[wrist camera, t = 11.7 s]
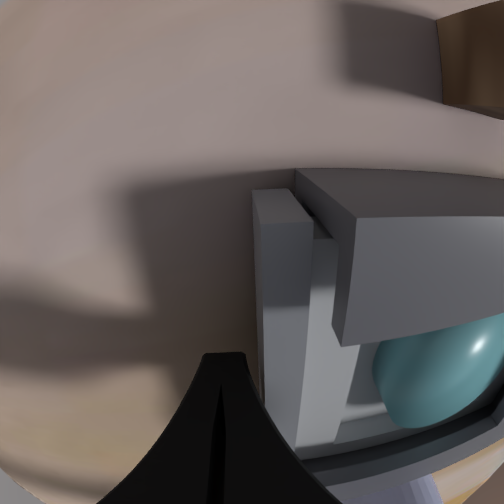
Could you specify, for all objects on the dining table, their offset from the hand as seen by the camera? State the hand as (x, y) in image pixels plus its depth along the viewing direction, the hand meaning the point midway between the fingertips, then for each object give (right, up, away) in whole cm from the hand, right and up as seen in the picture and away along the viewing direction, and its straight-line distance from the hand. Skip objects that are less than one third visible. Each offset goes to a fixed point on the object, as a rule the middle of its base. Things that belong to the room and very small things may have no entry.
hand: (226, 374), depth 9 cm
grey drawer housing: (+7, +1, +2) cm, 8 cm away
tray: (+7, +1, +2) cm, 8 cm away
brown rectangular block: (+9, +10, -2) cm, 14 cm away
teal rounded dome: (+8, 0, 0) cm, 8 cm away
